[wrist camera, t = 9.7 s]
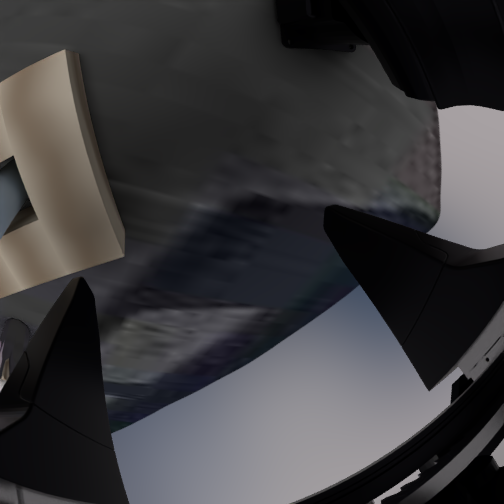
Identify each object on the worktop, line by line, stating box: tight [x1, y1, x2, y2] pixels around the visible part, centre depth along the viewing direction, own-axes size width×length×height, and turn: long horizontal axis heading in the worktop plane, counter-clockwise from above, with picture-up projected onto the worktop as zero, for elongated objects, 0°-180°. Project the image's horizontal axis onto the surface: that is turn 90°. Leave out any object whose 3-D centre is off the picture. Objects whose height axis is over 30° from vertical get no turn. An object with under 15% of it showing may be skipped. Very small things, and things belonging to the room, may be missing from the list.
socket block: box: [0, 50, 125, 298], centre depth 13 cm, size 14×14×4 cm
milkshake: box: [0, 319, 30, 391], centre depth 17 cm, size 4×5×10 cm
